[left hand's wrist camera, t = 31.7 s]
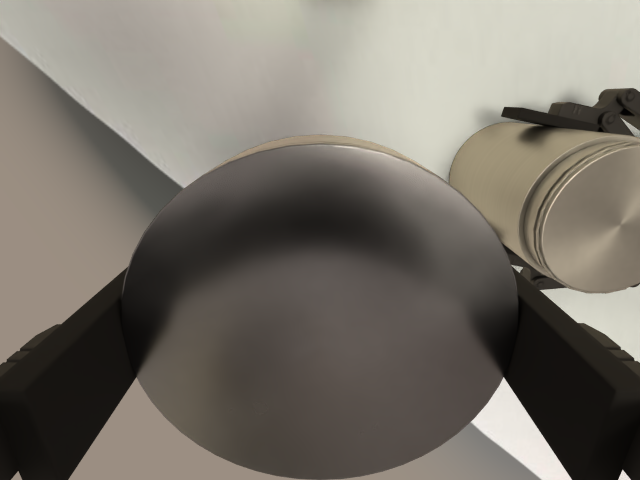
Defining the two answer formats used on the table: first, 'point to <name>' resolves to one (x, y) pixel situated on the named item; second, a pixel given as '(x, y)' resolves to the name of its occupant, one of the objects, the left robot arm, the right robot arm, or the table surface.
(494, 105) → the table surface
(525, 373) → the left robot arm
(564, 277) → the jar
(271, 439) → the lid
